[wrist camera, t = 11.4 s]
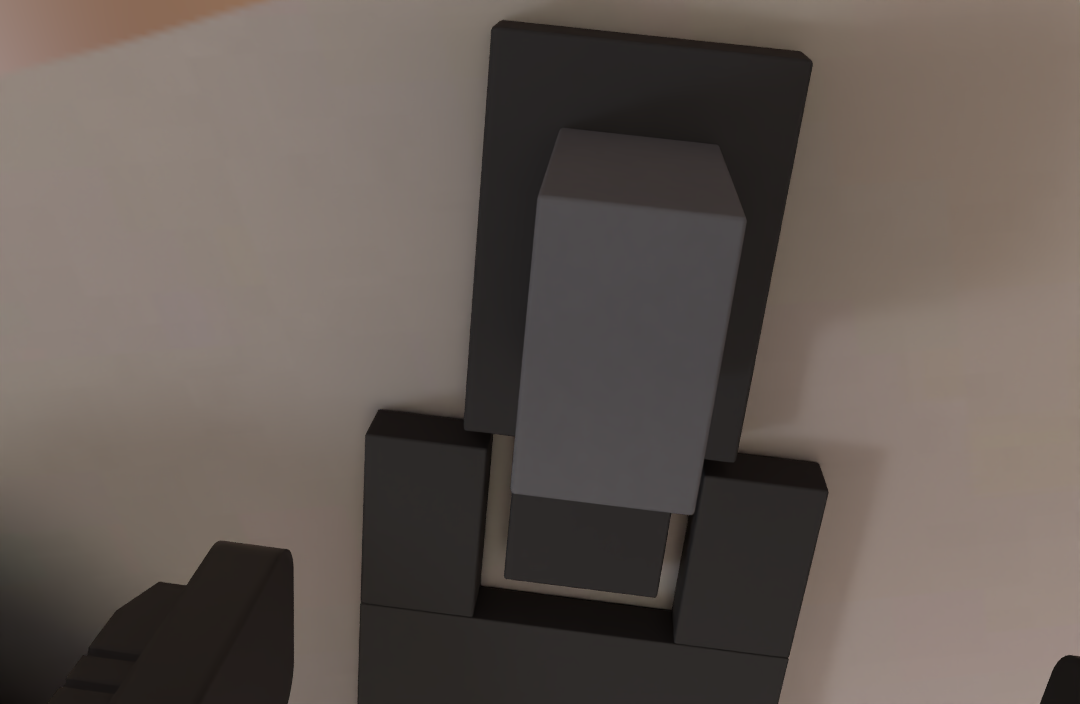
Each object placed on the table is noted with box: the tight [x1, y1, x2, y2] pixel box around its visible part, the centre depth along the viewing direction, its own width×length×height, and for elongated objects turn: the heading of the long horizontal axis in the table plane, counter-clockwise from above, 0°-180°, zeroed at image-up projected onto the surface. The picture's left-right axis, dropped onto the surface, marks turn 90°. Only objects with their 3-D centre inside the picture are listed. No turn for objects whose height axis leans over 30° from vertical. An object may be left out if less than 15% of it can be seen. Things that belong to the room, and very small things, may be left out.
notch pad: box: [358, 410, 829, 704], centre depth 30 cm, size 14×12×2 cm
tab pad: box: [464, 20, 813, 598], centre depth 23 cm, size 14×7×8 cm, turn 175°
